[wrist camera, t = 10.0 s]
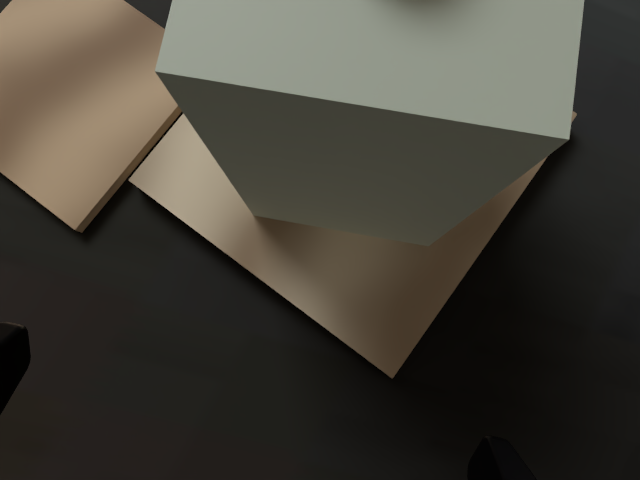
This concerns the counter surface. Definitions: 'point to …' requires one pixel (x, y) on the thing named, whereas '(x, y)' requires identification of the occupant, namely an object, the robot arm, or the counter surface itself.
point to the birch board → (325, 252)
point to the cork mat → (78, 100)
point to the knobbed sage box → (374, 103)
